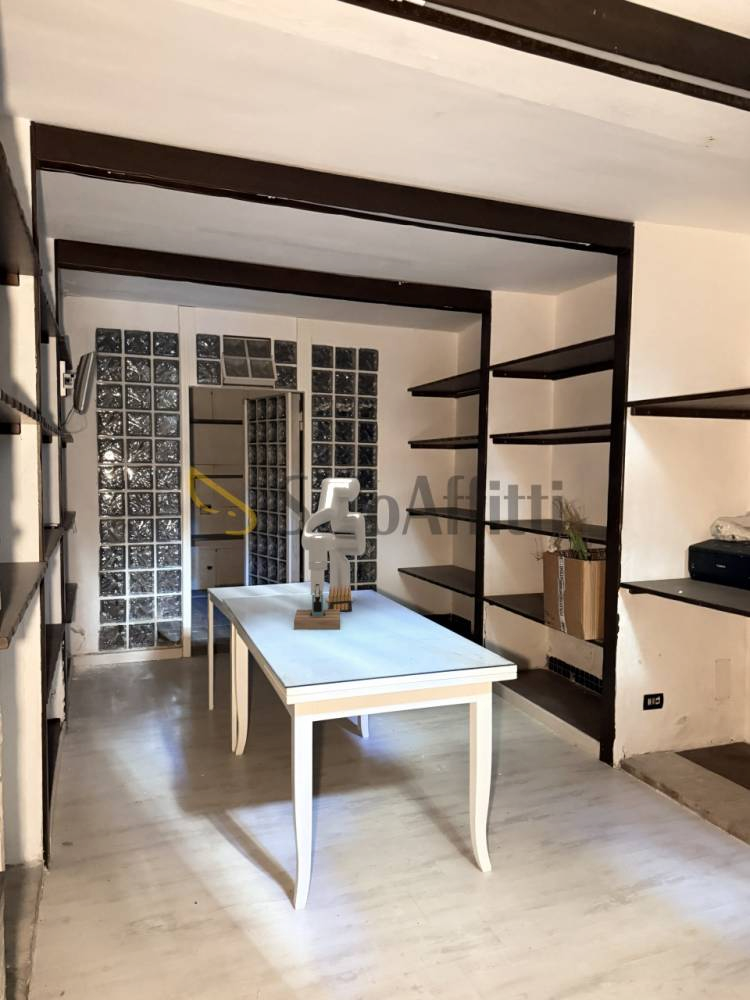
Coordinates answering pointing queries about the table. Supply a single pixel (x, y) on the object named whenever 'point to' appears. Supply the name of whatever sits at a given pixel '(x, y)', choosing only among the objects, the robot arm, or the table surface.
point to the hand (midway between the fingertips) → (317, 609)
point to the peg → (313, 607)
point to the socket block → (317, 619)
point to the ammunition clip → (340, 599)
